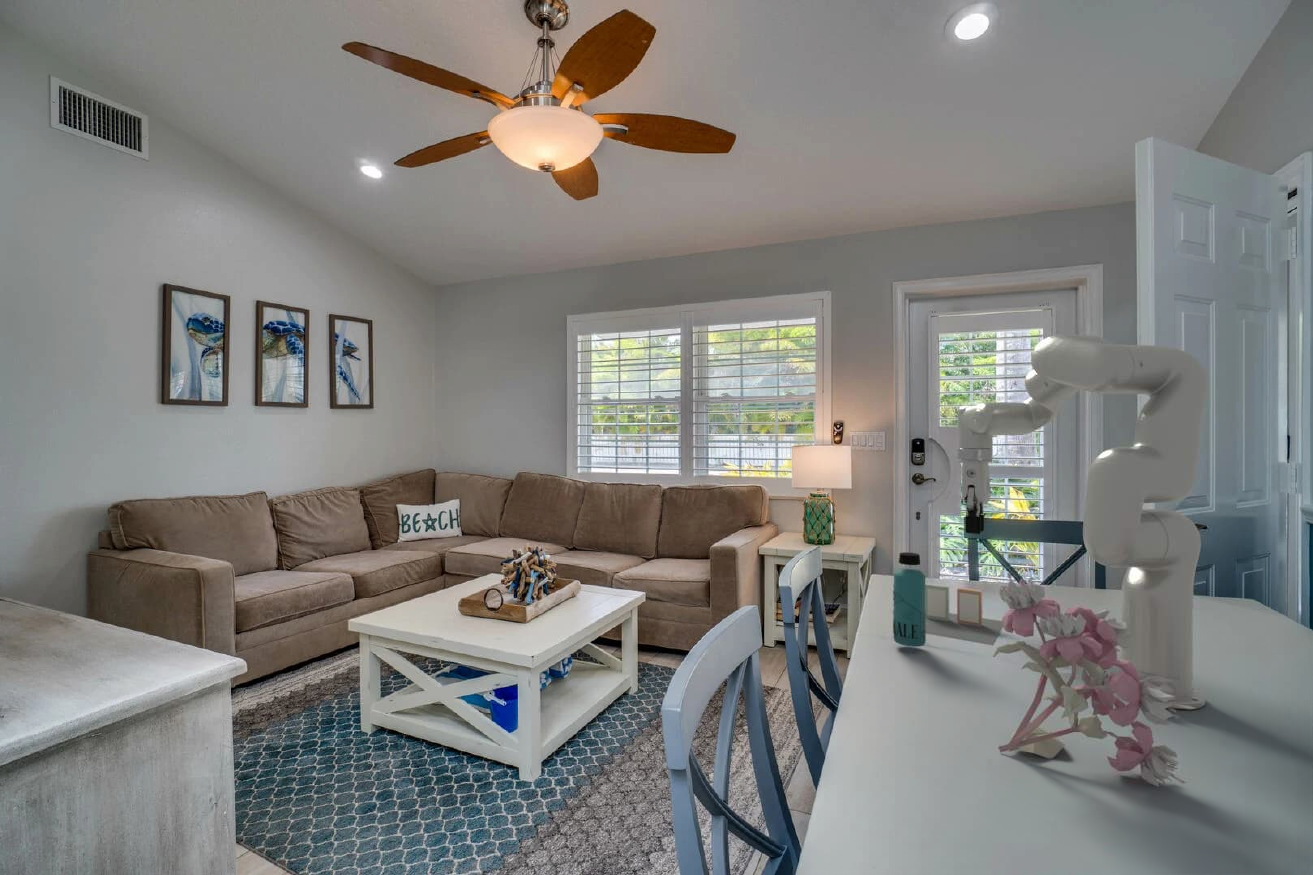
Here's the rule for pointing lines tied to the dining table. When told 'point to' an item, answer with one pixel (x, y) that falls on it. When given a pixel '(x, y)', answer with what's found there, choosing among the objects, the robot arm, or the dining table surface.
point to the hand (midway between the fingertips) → (974, 531)
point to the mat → (965, 629)
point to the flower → (1086, 682)
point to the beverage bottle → (909, 603)
